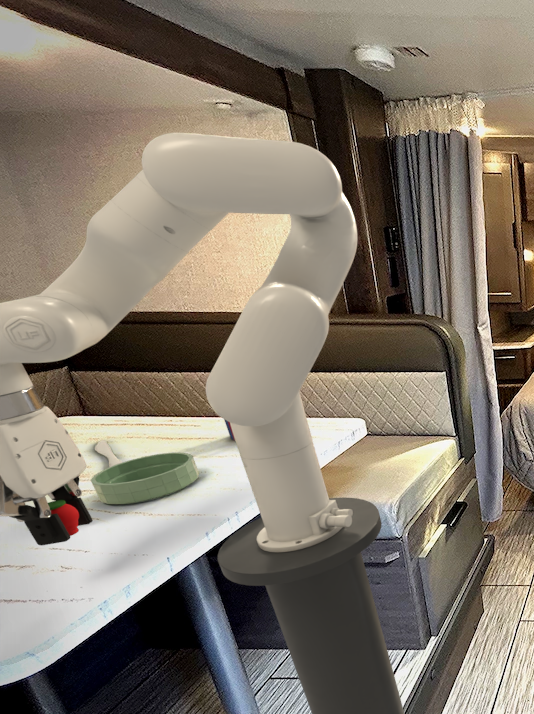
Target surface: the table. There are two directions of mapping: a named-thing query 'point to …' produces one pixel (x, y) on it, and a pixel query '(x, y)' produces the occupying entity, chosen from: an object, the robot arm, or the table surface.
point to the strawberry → (66, 515)
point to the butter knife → (107, 452)
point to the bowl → (145, 478)
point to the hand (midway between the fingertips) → (66, 532)
